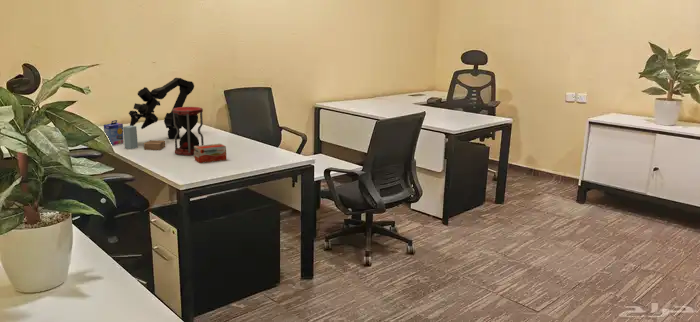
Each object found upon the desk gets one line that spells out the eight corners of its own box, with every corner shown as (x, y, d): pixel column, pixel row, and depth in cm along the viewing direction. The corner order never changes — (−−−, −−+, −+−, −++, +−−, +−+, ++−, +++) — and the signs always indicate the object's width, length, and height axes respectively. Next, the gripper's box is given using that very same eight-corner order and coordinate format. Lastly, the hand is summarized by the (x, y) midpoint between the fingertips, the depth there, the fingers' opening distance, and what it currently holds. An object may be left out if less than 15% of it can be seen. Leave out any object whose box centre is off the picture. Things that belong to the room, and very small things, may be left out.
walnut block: (150, 146, 323) (149, 140, 322) (165, 147, 322) (165, 140, 321) (144, 150, 314) (143, 143, 313) (159, 150, 314) (159, 144, 313)
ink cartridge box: (110, 146, 320) (108, 121, 317) (104, 145, 323) (102, 120, 319) (124, 143, 329) (122, 119, 325) (118, 142, 331) (116, 118, 328)
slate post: (131, 146, 321) (130, 125, 318) (137, 147, 319) (136, 126, 316) (124, 148, 317) (123, 126, 314) (130, 149, 315) (129, 127, 312)
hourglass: (174, 156, 300) (171, 111, 294) (175, 149, 315) (172, 106, 309) (204, 155, 304) (202, 110, 298) (204, 148, 319) (202, 106, 313)
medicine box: (221, 157, 302) (220, 142, 300) (226, 160, 295) (226, 145, 293) (194, 160, 293) (193, 145, 291) (199, 163, 287) (198, 148, 285)
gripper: (130, 96, 324) (115, 117, 317) (153, 99, 315) (139, 121, 308) (141, 108, 332) (127, 129, 325) (164, 111, 324) (150, 132, 317)
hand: (136, 127), depth 319 cm, fingers open, 9 cm apart
